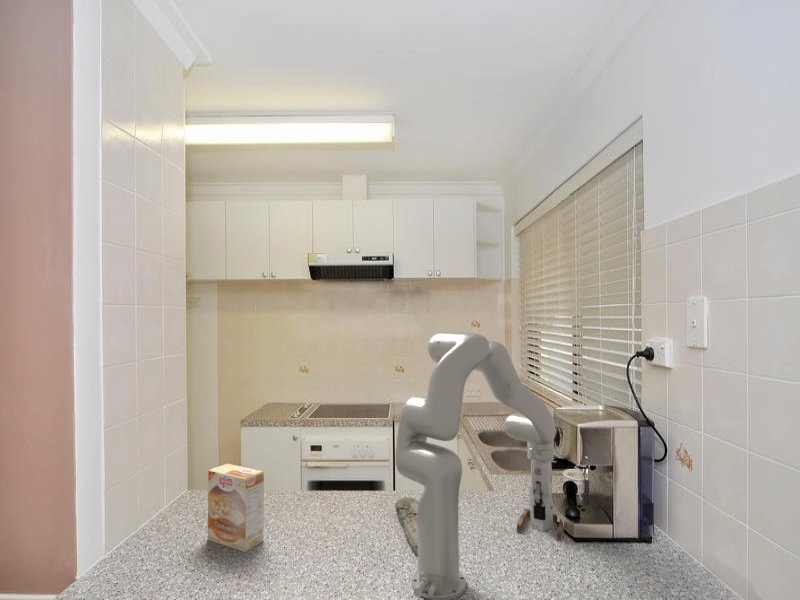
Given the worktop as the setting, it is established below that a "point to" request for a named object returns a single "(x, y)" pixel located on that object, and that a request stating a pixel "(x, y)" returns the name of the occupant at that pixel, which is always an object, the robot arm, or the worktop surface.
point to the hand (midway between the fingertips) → (541, 513)
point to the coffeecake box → (235, 506)
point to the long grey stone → (409, 520)
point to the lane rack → (527, 513)
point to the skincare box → (548, 522)
